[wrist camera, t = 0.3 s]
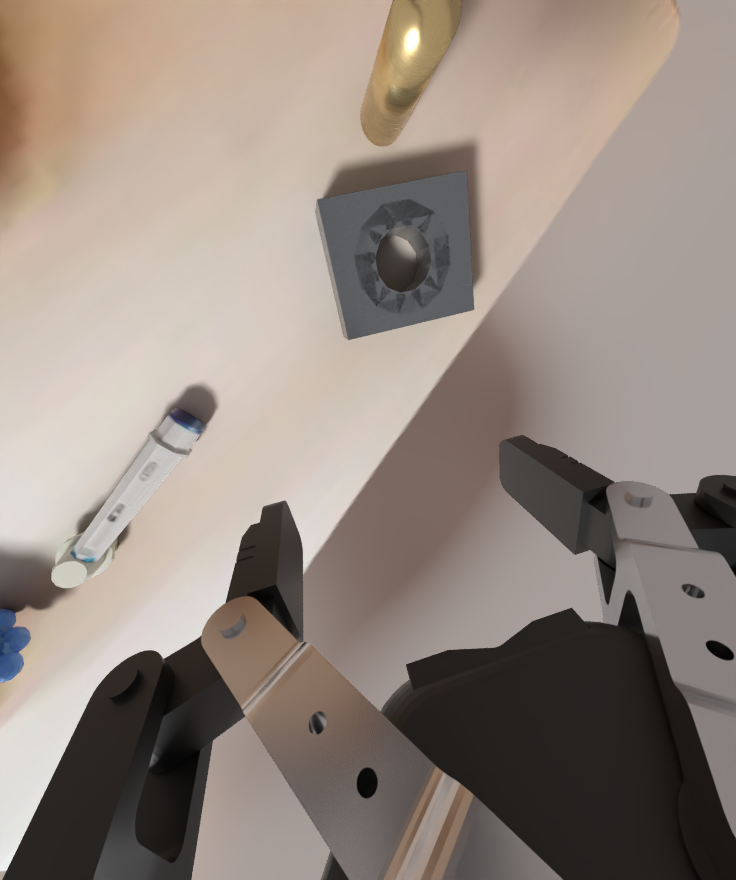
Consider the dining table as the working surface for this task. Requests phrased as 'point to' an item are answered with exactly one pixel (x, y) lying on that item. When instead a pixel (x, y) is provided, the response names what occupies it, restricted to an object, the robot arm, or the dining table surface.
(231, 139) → the dining table surface
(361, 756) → the robot arm
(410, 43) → the brass plug
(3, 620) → the blue flower
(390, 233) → the plate
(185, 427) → the white electric toothbrush
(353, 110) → the dining table surface
